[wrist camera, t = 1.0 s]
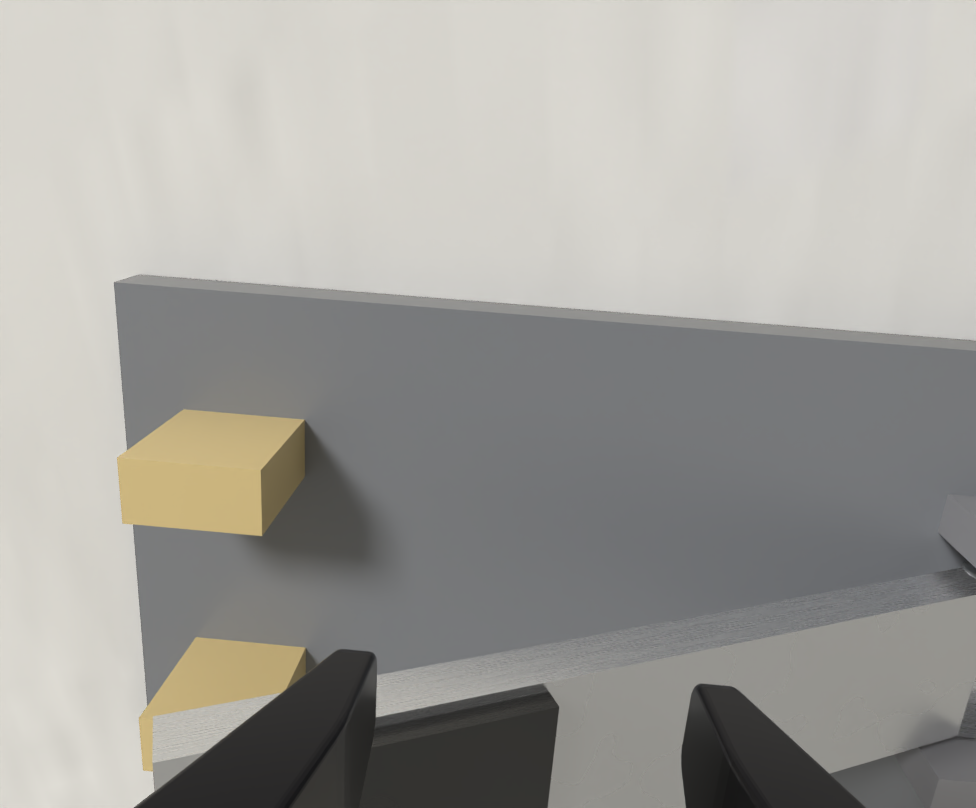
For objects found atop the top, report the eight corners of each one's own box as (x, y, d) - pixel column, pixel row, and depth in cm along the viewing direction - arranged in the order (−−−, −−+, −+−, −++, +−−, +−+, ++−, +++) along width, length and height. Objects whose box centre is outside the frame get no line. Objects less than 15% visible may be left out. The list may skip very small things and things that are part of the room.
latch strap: (990, 556, 19) (1056, 590, 18) (948, 694, 20) (1007, 736, 19) (152, 707, 12) (152, 784, 11) (167, 902, 13) (168, 993, 12)
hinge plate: (1131, 352, 19) (1302, 411, 14) (977, 817, 23) (1075, 966, 19) (138, 274, 19) (29, 308, 15) (170, 736, 24) (92, 860, 20)
